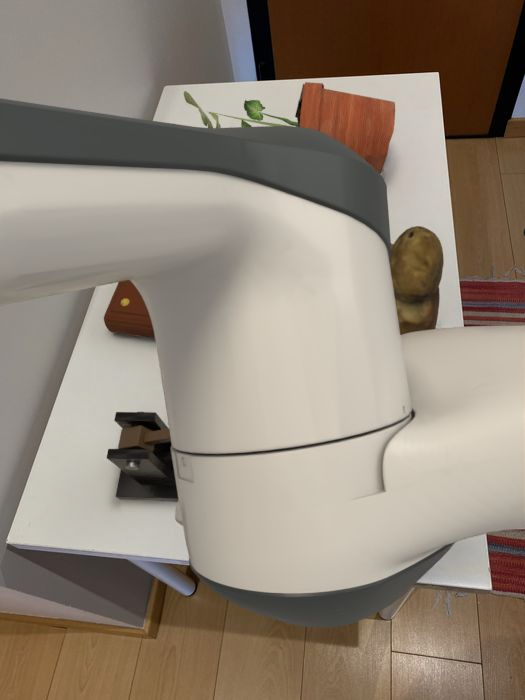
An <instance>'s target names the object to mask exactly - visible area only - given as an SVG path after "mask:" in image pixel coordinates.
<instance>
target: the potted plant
mask: <svg viewBox="0 0 525 700" xmlns="http://www.w3.org/2000/svg"><path fill="white" fill-rule="evenodd" d="M183 97H184V100H185V102H186V103H187V104H188V105H190V106H193V107H195V108H197V109H198V111H199V114H200V117H201V121H202V123H203V125H204V126H205V127H207V128H214V126H213V124H212V121H211V120H210V118H209V116H208V115H207V113H208V114H209V115H211V117H212V119H214V121H215V122H216V123H215V125H216V126H215V128H222V126H221V124H220V122H219V115H220V116H223V117H228V118H232V119H235V120H240V122H241V123H240V127H253V126H252V125H251V124H249V123H248V122H250V123H254V124H261V125H264V126H293V127H304V128H311V129H315V130H318V131H320V132H323V133H325V134H327V135H329V136H331V137H333V138H334V139H336V140H338V141H340V142H341V143H343V144H344V145H346V146H347V147H349V148H350V149H351V150H353V151H354V152H356V153H357V154H358V155H359V156H361V157H362V158H363V159H364V160H365V161H367V162H368V163H369V164H370V165H371V166H372V167H373V168H374V169H375V170H377V171H378V172H379V173H380V174H381V175H382V172H383V170H384V168H385V167H384V166H385V163H386V160H387V158H388V154H389V149H390V144H391V140H392V137H393V134H394V132H395V131H394V130H395V123H396V122H395V121H396V119H395V117H396V102H395V101H392V100H386V99H382V98H375V97H371V96H365V95H360V94H355V93H349V92H345V91H339V90H333V89H328V88H325V85H324V84H323V82H309V81H308V82H307V81H305V82H304V83H302V88H301V92H300V96H299V99H298V103H297V107H296V111H295V115H294V117H295V118H296V121H293V120H290V119H288V118H286V117H281V116H276V115H272V114H268V113H264V112H263V110H265V109H266V107H265V106H263V104H262V103H261V101H260V100H258V99H250V100H247V99H245V100H244V102H243V108H244V111H245V112H246V116H247V117H248V118H249V119H248V118H243V117H237V116H232V115H227V114H221V113H216V112H214V111H213V112H212V111H207V110H206V112H207V113H205V111H204V110H203V109H202V108H201V106H200V105H199V104H198V103H197V102H196V100H195V99H194V98H193V96H192V95H191V94H190V93H189V92H187V91H186V90H184V91H183ZM264 115H265V116H266V117H268V118H269V117H270V118H273V119H277V120H280V121H283V122H284V123H286V124H280V123H274V122H267V121H264Z"/></svg>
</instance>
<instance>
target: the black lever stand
mask: <svg viewBox="0 0 525 700" xmlns="http://www.w3.org/2000/svg"><path fill="white" fill-rule="evenodd" d="M114 422H115V423H116V424H117V425H118V426H119V427H120V428H121V430H122V429H124V428H129V427H135V426H140V425H141V426H143V427H145V428H148V429H150V430H152V431H157V430H163V429H169V426H167V424H166V423H165V422H164V420H162V418H161V417H160V416H159V414H158V412H155V411H153V412H152V411H151V412H149V411H147V412H146V411H116V412H115V415H114ZM171 446H172V444H171V442H165V443H159V444H154V449H153V452H151V451H150V450H144V449H118V448H108V449H107V453H106V459H107V460H108V461H109V462H110V463H112V464H113V465H115V466H116V467H117V468H118V469H119V470H120V471H119V475H118V476H119V477H118V481H117V487H116V492H115V498H117V499H119V500H141V501H142V500H143V501H168V502H170V501H172V502H178V501H179V499H178V493H177V487H176V480H175V474H174V468H173V461H172V455H171V449H170V448H171Z"/></svg>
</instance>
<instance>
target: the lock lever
mask: <svg viewBox="0 0 525 700" xmlns="http://www.w3.org/2000/svg"><path fill="white" fill-rule="evenodd" d="M119 435H120V436H119V441H118V445H117V446H118V447H117V449H144V450H150V451H151V452H153V449H154V444H159V443H165V442H171V437H170V431H169V429H163V430H157V431H152V430H150V429H148V428H145V427H143V426H141V425H140V426H135V427H129V428H124V429H122V428H121V430H120V434H119Z"/></svg>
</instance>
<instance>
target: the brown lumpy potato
mask: <svg viewBox="0 0 525 700" xmlns="http://www.w3.org/2000/svg"><path fill="white" fill-rule="evenodd" d="M444 259H445V258H444V251H443V246H442V242H441V241H440V238H439V237H438V236H437V234H436V233H435V232H434V231H432V230H431V229H429V228H427V227H424V226H421V225H415V226H411V227H409V228H407V229H405V230H404V231H403V232H402V233H401V234H400V235H398V237H397V239H395V241H394V243H391V262H390V270H391V276H392V283H393V289H394V296H395V303H396V309H397V316H398V322H399V329H400V335H402V334H406V333H410V332H416V331H424V330H432V329H436V326H437V323H438V317H439V308H440V284H441V282H442V281H441V280H442V277H443V270H444V266H445V265H444Z"/></svg>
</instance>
